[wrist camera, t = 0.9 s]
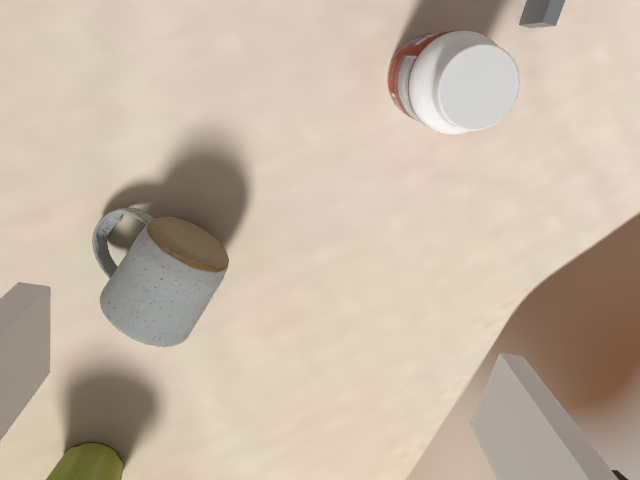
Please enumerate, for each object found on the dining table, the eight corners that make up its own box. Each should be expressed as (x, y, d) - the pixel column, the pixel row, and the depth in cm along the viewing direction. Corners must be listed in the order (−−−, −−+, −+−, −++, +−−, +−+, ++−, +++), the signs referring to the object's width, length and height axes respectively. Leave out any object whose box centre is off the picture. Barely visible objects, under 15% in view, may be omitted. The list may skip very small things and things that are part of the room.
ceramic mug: (239, 242, 40) (228, 282, 33) (196, 313, 43) (176, 364, 35) (124, 178, 38) (85, 207, 31) (84, 258, 40) (39, 302, 33)
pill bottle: (472, 39, 35) (548, 35, 25) (454, 121, 38) (517, 149, 27) (392, 29, 35) (437, 20, 24) (379, 113, 37) (415, 138, 27)
